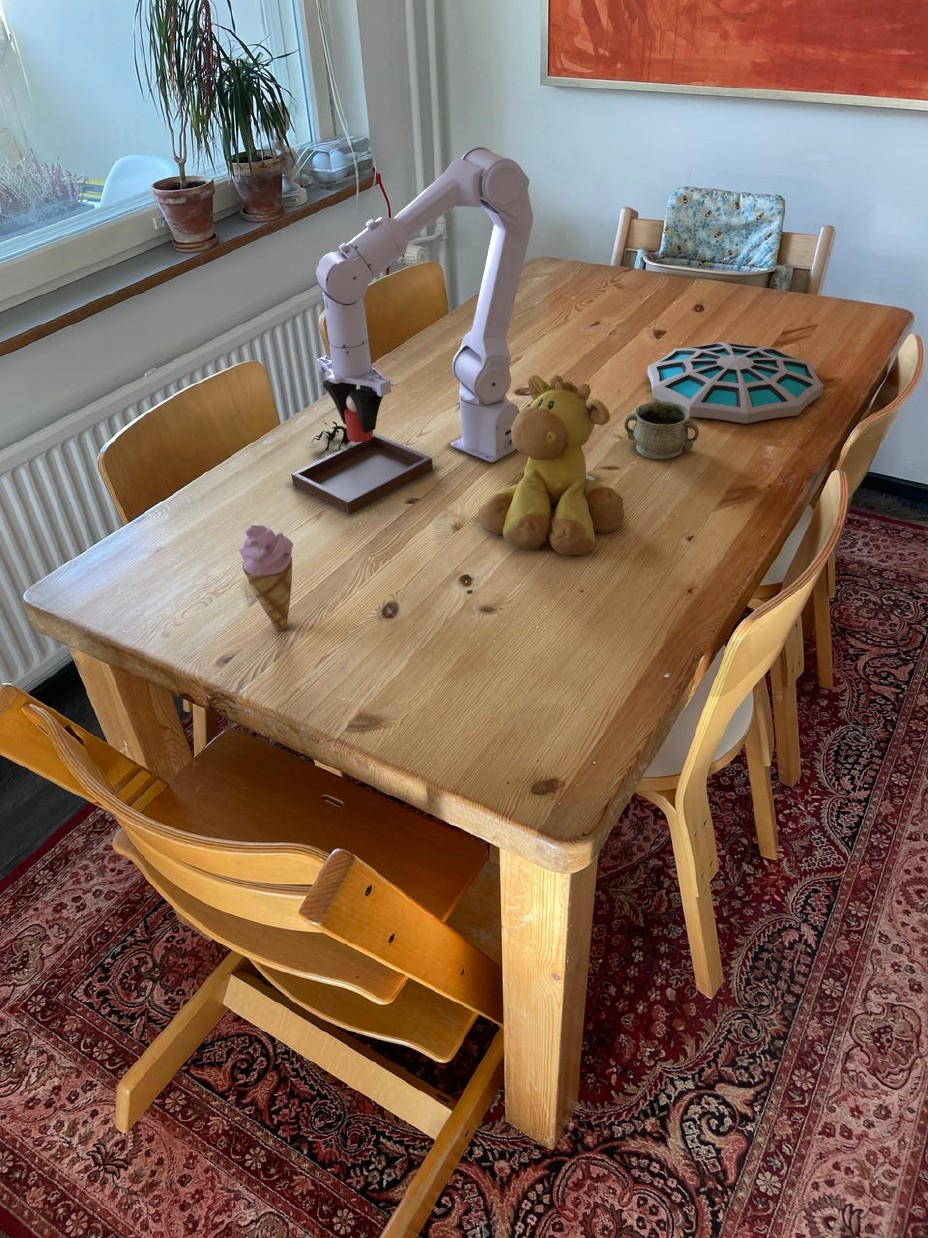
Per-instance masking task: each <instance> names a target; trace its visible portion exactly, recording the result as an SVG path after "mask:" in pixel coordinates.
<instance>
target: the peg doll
mask: <svg viewBox="0 0 928 1238" xmlns="http://www.w3.org/2000/svg"><path fill="white" fill-rule="evenodd" d="M346 404H347V408H346V409H345V411H344V414H345V422H346V425H345V428H346V429H347V436H348V439H349V440H350V442H353V443H356V442H365V441H368V440H370V439H372V437H373V434H374V430H372V431H370V432H368V433H363V431H362V429H361V425H360V420H359V415H358V412H357V409H356V406H355V404H354V402H353V400H352V398H351V397H350V395H349V396H348V397H347V400H346Z"/></svg>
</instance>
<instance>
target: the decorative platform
mask: <svg viewBox="0 0 928 1238" xmlns="http://www.w3.org/2000/svg"><path fill="white" fill-rule="evenodd" d="M646 373H647V377H648V379H649V381H650V384H651V398H653V399H655V400H656V401H663V402H673V403H677V404H680V405H682V406H684V407H685V408H686V409H687V410H688V411H689V412H690V418H691V417H692V418H703V419H714V420H721V421H728V422H734V423H740V424H746V425H747V424H751V423H756V422H760V421H766V420H771V419H772V420H773V419H777V418H786V417H794V416H796V417H797V416H799V415H800V413H802V411H803V410H804V409H805V408H806V407H807V406H808V405H810V404H811V403H812V402H813V401H815V400H816V399H818V398H819V397H821V396H822V395H823V392H824V384H823V383H822V381H821V380H820V379H819V378H818V376H817V375H816V372H815V370H814V367H813V364H812V362H809V361H806V360H803V359H801V358H798V357H795V356H792V355H790V354H787V353H786V352H783V351H781V350H779V349H777V348H776V347H775V348H774V347H773V346H759V345H749V344H738V343H731V342H723V341H718V342H714V343H708V344H702V345H695V346H689V347H687V346H686V347H679V348H678V347H677V348H674V349H672V350H671V351H670V352H669V353H668V354H666V355H665V356H664V357H662V358H660V359H658V360H657V361H655V362H653V363H651V364H649V365H648V366H647V372H646Z"/></svg>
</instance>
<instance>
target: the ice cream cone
mask: <svg viewBox="0 0 928 1238" xmlns="http://www.w3.org/2000/svg"><path fill="white" fill-rule="evenodd" d="M244 533H245V536H247V537H245V538H244V541H243V544H242V545H241V546H240V547H239V548H238V552H239V553H240V556H241V559H242V560H243V563H242V571H243V573H244V575H245V577H246V579H247V582H248V584H249V586H250V587H251V589H252V591H253V593H254V595H255V597H256V599H257V601H258V602H259V604H260V606H261V607H262V609H263V611H264V612H265V614H266V616H267V618H268V619H269V621H270V622H271V624H272V625H273V627H274V629H275V630H276V631H278V632H282V631H285V630H286V629H287V626H288V618H289V611H290V604H291V595H292V582H293V556H292V552H293V547H294V543H293V542H292V540H291V539H290V538H288V536H285V535H284V534H283V533H282V532H279V533H277V534H276V533H275V532H274V531H273V530H272V529H271V528H268V527H267V526H265V525H250V526H249V527H247V528H246V529H245V531H244Z"/></svg>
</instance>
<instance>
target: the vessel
mask: <svg viewBox="0 0 928 1238" xmlns="http://www.w3.org/2000/svg"><path fill="white" fill-rule="evenodd" d="M634 412H635V413H634ZM634 412H633V413H629V414H628V415H627V416H626V417H625V419H624V423H623V425H624V430H625V431H626V433H627V439H628V440H630V441H635V440H636V444H635V449H636V451H637V452H638V453H639V455H640V456H641V455H642V456H643V457H645V458H649V459H653V460H667V459H672V458H675V457H678V456H679V455H680V454H681V453H683V445H684V444H685V449H686V450H690V449H692V448H693V447H694V442H696V441H697V440H698V438H699V435H700V431H699V428H698V426H697V425H698V424H696V422H695V421H693V420H689V419H690V418H691V417H690V412H689V411H688V410H687V409H686V408H685V407H684V406H682V405H680V404H677V403H673V402H663V401H660V400H655V401H650V402H646V403H643V404H641V405H639V406H638V407H636V409H635V411H634ZM631 421H634V422H635V423H634V425H633V429H630V427H629V423H630V422H631ZM689 429H692V430H693V431H694V436H693V437H691V438H690V437H689Z"/></svg>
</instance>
